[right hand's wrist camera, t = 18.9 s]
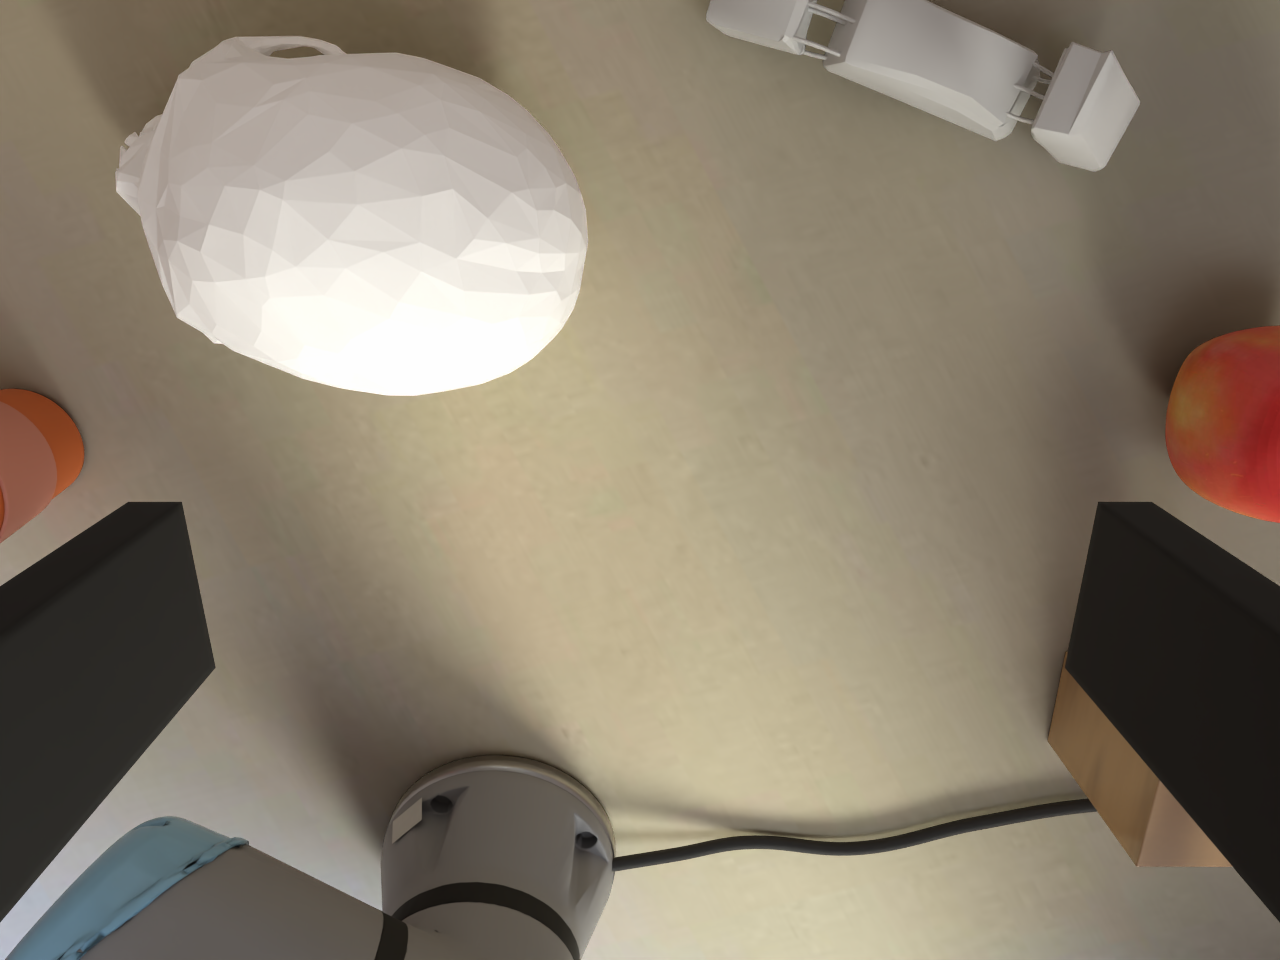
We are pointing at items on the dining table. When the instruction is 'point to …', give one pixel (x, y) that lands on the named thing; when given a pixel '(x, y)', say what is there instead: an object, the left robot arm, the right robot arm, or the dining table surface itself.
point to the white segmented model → (953, 69)
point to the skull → (357, 216)
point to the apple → (1230, 422)
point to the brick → (1125, 786)
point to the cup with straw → (34, 456)
